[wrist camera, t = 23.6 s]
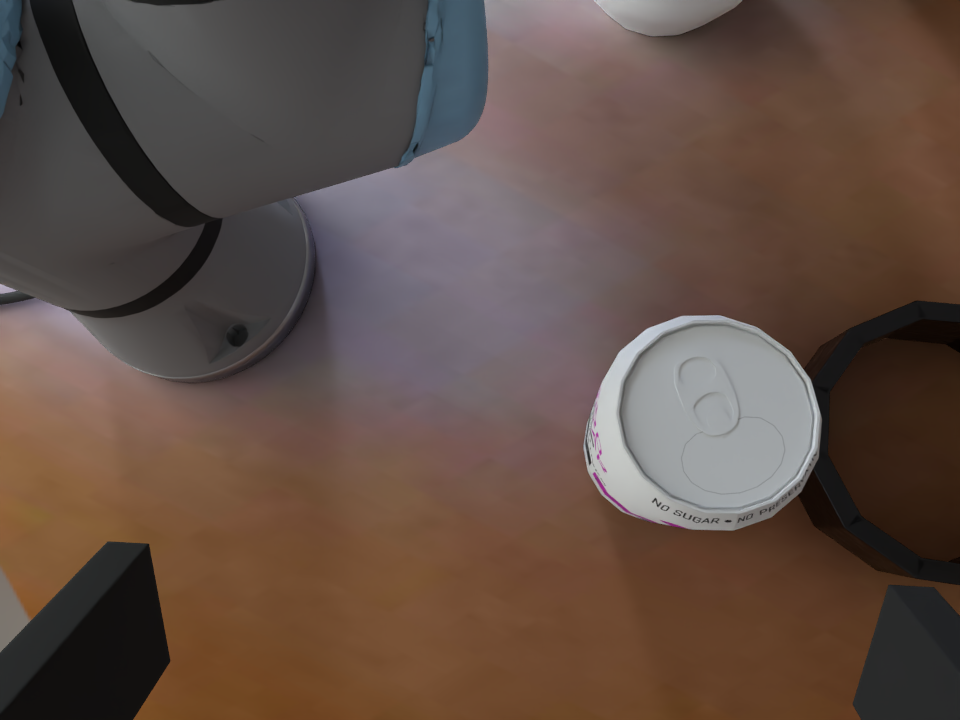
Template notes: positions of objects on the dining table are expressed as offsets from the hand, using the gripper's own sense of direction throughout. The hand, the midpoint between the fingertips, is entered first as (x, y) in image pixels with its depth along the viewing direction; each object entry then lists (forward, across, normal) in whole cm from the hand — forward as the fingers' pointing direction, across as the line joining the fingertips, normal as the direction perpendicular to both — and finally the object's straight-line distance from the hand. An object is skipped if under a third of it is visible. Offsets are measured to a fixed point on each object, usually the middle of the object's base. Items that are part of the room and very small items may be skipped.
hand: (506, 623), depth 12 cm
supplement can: (+25, +9, -9) cm, 28 cm away
